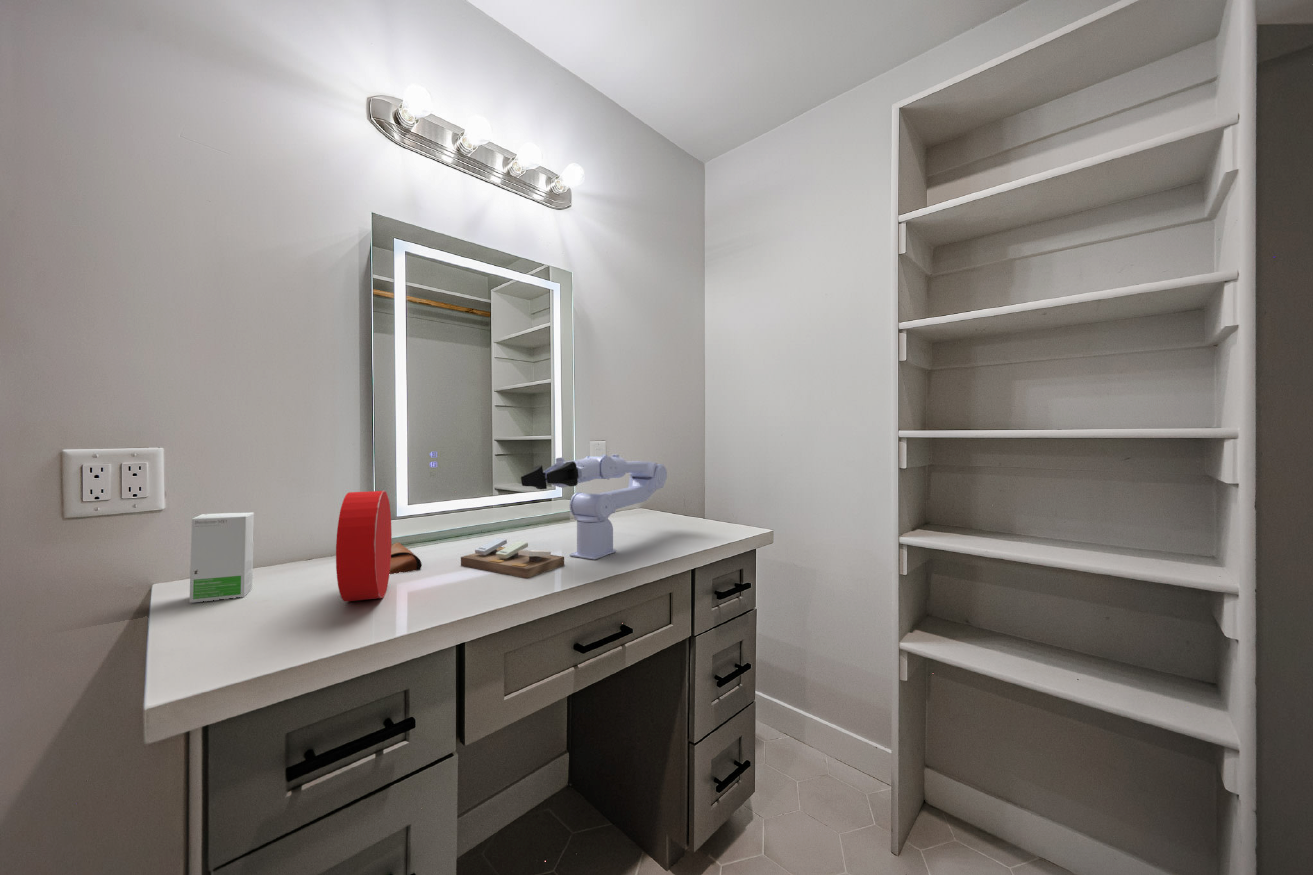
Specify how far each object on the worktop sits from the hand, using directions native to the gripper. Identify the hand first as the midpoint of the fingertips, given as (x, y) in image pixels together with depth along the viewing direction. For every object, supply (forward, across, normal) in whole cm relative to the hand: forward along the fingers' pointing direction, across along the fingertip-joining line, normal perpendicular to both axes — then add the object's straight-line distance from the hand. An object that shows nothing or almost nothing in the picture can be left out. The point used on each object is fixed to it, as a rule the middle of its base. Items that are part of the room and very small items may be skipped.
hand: (534, 479), depth 110 cm
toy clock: (+29, -19, +17) cm, 38 cm away
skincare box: (+42, -43, +13) cm, 62 cm away
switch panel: (-2, -12, +19) cm, 23 cm away
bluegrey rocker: (-2, -19, +15) cm, 24 cm away
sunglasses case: (+12, -37, +16) cm, 42 cm away
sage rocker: (-2, -12, +16) cm, 20 cm away
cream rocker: (-2, -5, +17) cm, 18 cm away
